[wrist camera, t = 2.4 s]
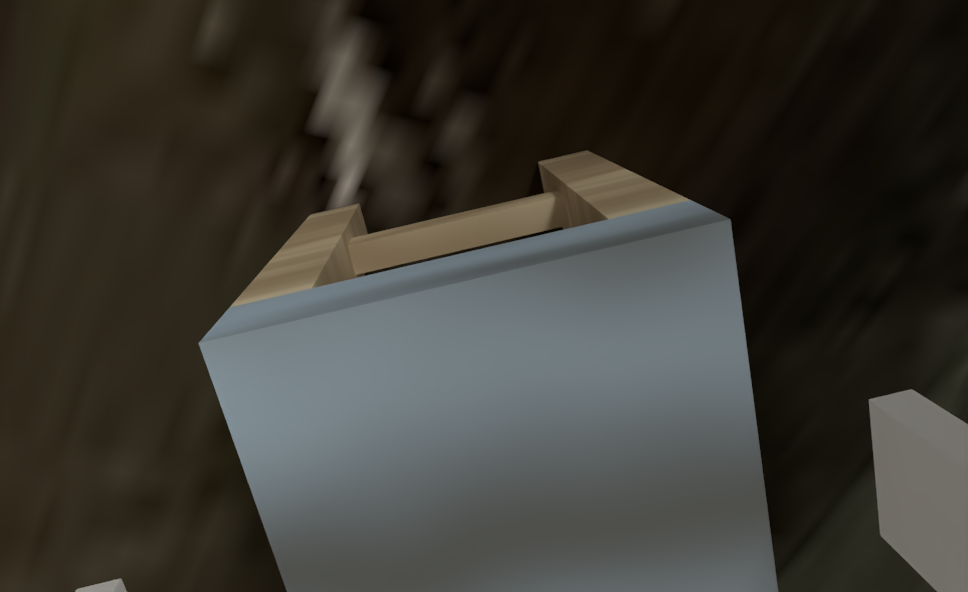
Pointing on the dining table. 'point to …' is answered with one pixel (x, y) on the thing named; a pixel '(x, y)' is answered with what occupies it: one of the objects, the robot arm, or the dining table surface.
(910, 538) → the robot arm
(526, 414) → the stool
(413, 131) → the dining table surface
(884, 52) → the dining table surface
